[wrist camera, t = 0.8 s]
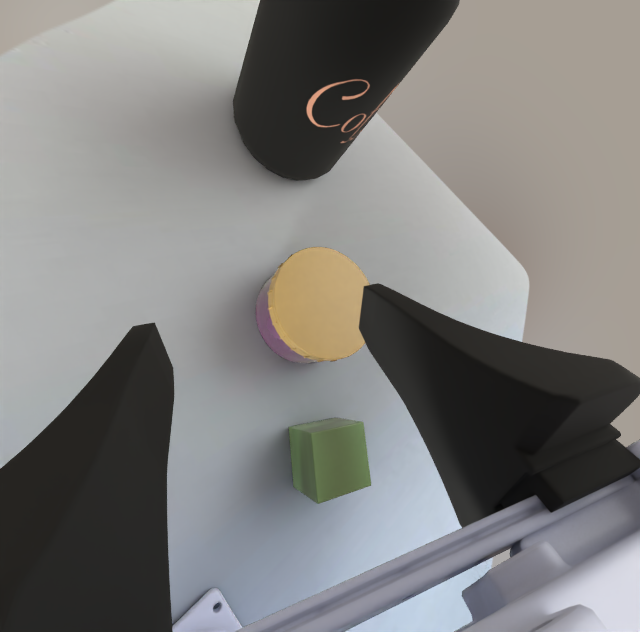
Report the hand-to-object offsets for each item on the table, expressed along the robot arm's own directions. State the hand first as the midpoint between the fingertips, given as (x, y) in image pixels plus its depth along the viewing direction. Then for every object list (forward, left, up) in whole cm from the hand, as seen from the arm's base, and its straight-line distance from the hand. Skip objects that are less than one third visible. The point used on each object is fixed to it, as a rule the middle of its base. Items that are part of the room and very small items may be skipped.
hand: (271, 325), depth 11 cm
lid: (-1, -8, -9) cm, 12 cm away
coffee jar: (+15, -16, -13) cm, 26 cm away
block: (-11, -3, -13) cm, 17 cm away
